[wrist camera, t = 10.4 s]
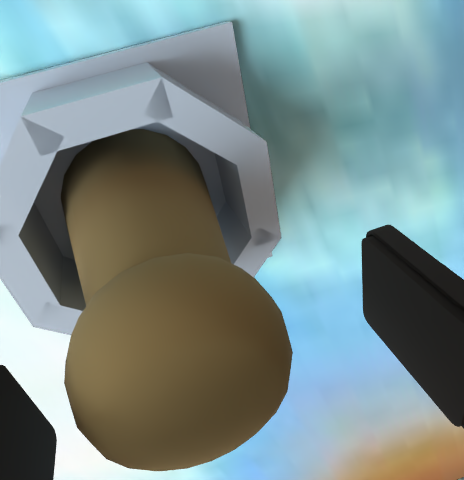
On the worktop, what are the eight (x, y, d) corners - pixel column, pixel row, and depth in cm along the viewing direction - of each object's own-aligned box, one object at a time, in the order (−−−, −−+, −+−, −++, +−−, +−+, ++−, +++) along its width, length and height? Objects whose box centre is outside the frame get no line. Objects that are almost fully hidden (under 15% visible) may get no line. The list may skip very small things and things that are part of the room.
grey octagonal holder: (227, 21, 15) (267, 27, 12) (267, 250, 21) (301, 295, 18) (-77, 100, 14) (-127, 132, 10) (62, 324, 20) (59, 389, 16)
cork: (88, 275, 18) (96, 547, 9) (36, 147, 15) (-31, 380, 6) (215, 239, 19) (332, 449, 10) (193, 113, 16) (337, 265, 7)
